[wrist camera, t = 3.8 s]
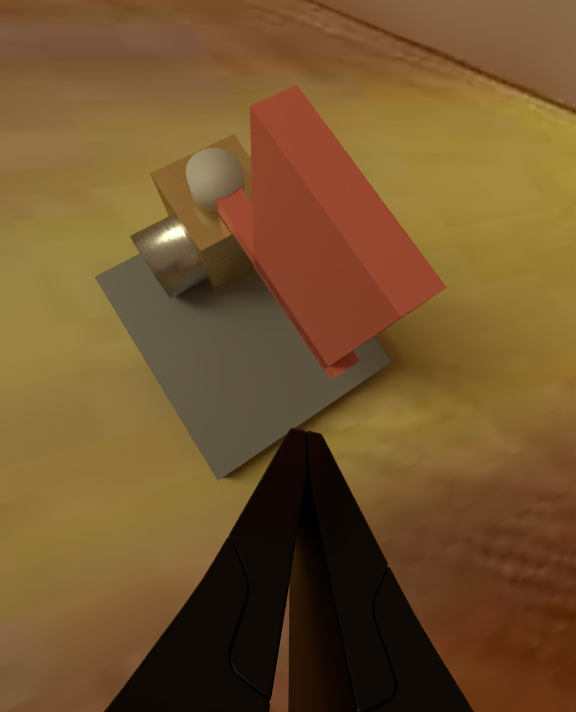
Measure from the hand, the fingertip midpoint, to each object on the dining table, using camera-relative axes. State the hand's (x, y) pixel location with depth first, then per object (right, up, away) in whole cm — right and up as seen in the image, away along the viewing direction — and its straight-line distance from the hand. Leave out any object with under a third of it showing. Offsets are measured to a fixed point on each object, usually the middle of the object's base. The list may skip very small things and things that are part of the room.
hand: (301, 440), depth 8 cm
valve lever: (-1, +6, +6) cm, 8 cm away
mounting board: (-3, +4, +11) cm, 12 cm away
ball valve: (-4, +9, +11) cm, 15 cm away
